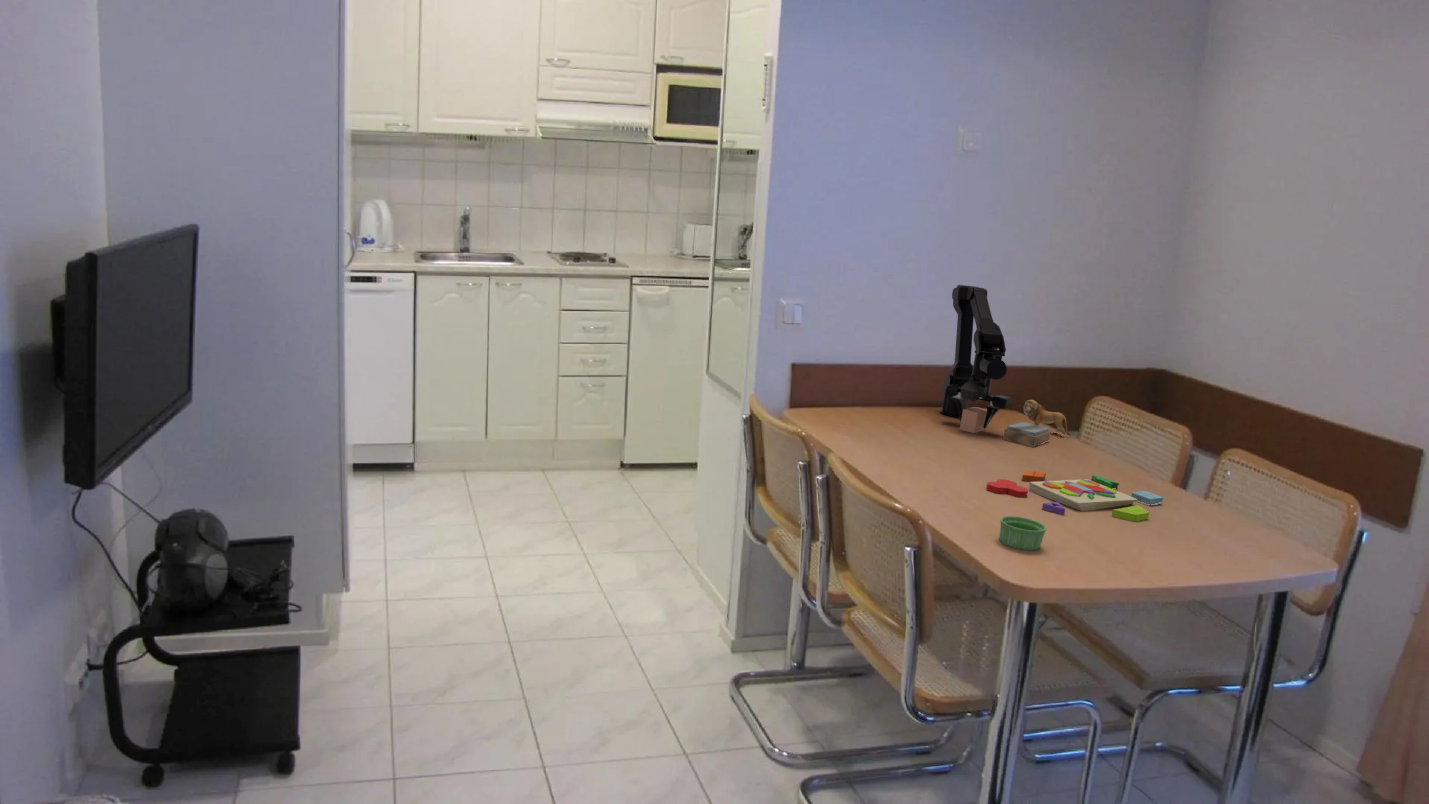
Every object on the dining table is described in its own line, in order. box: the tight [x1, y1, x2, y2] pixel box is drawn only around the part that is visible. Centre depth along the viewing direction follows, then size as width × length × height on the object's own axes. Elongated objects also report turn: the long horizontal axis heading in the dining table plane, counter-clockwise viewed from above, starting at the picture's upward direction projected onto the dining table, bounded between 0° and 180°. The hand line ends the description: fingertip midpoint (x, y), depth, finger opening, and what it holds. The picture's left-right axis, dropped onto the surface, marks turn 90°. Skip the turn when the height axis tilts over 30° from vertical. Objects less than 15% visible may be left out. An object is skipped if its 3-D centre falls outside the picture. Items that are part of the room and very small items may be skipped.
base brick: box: [1002, 421, 1051, 448], centre depth 326 cm, size 9×12×4 cm
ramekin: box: [999, 515, 1047, 551], centre depth 231 cm, size 9×9×4 cm
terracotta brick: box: [959, 406, 987, 434], centre depth 332 cm, size 4×8×6 cm, turn 144°
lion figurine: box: [1022, 399, 1072, 437], centre depth 340 cm, size 15×5×9 cm, turn 72°
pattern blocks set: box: [986, 470, 1164, 523], centre depth 272 cm, size 38×34×3 cm
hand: (973, 425), depth 332 cm, fingers open, 7 cm apart
